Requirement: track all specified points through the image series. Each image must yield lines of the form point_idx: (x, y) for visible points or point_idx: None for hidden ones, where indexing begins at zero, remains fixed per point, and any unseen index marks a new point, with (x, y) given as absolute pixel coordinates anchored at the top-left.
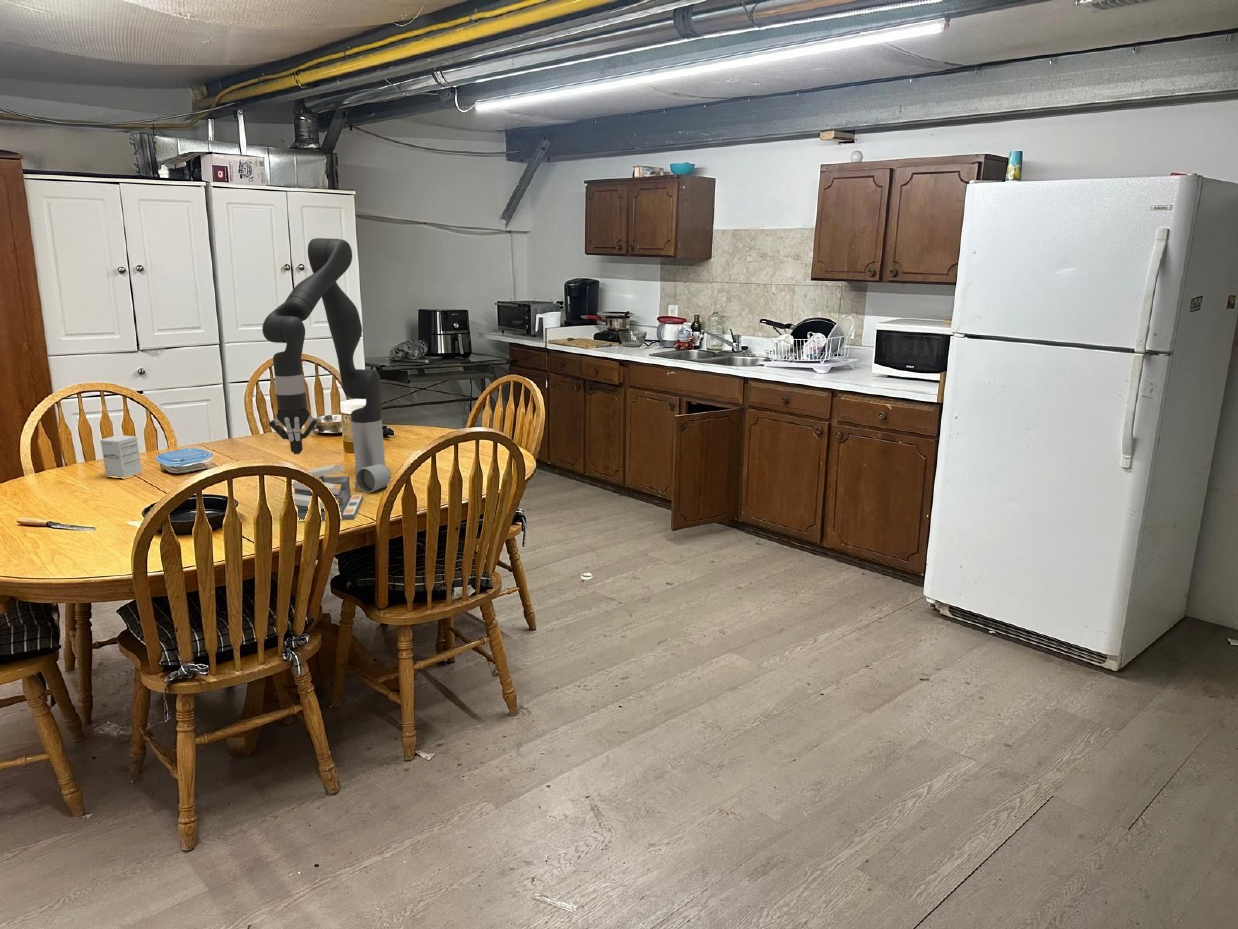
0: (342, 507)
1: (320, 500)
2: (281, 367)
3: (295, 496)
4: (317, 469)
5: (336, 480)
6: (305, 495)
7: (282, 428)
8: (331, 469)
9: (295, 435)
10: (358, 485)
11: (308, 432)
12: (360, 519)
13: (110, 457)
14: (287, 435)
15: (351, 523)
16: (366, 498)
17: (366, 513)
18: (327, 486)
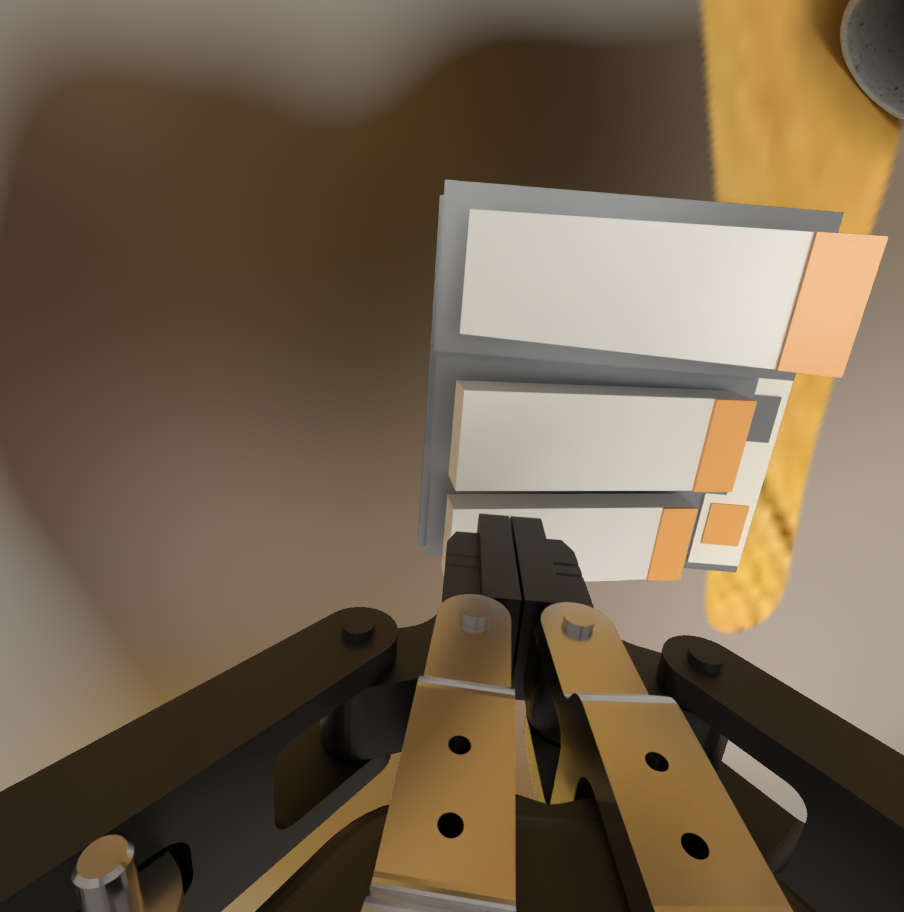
0: (697, 504)
1: (603, 552)
2: None
3: None
4: (625, 273)
5: None
6: (522, 511)
7: (266, 746)
8: (749, 365)
9: (534, 783)
10: (851, 18)
11: (772, 845)
12: (754, 566)
13: None
14: (400, 745)
15: (710, 605)
16: (841, 224)
17: (794, 493)
18: (665, 469)
